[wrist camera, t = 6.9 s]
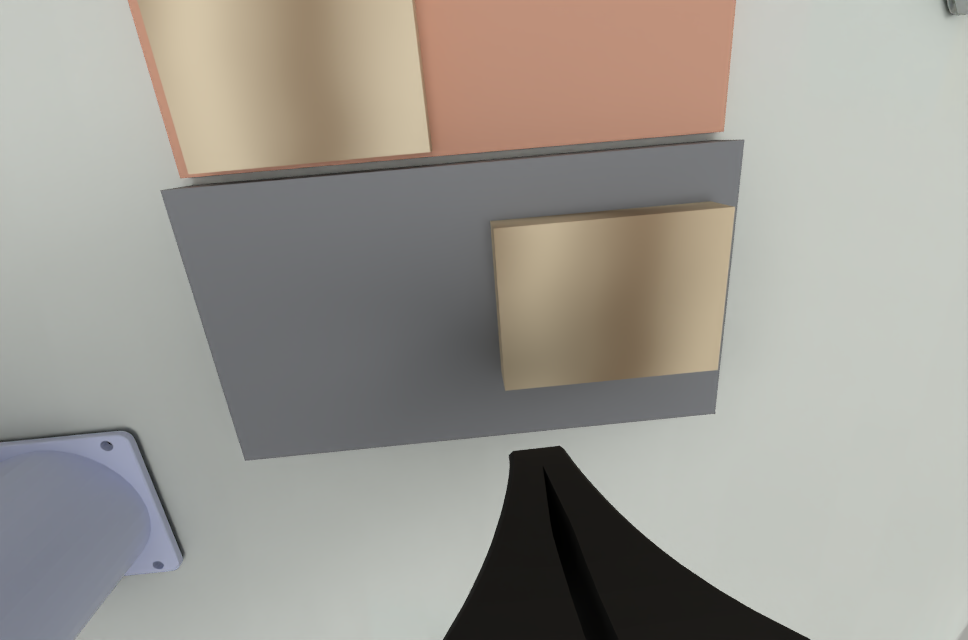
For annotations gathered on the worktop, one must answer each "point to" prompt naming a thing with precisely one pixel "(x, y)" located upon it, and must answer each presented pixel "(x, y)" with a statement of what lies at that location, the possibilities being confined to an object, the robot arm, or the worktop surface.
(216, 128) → the inner tile
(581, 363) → the outer tile
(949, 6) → the skincare box
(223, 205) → the grey board
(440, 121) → the mat
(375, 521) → the worktop surface
